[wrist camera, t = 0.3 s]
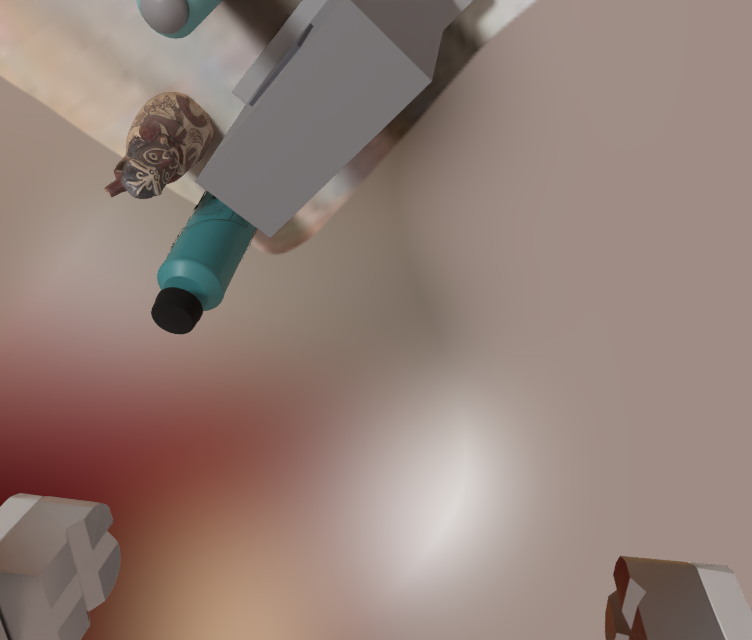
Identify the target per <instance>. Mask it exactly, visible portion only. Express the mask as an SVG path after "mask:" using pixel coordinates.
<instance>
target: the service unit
mask: <svg viewBox="0 0 752 640" xmlns="http://www.w3.org/2000/svg"><path fill="white" fill-rule="evenodd" d="M472 1H473V0H302V1H301V3H300V4H299V5H298V7H297V8H296V9H295V10H294V12H293V13H292V14H291V16H290V17H289V18H288V20H287V21H286V22H285V23H284V25H283V26H282V27H281V29H280V30H279V31H278V33H277V34H276V35H275V36H274V38H273V39H272V40H271V42H270V43H269V44H268V46H267V47H266V48H265V49H264V51H263V52H262V53H261V55H260V56H259V57H258V59H257V60H256V61H255V62H254V64H253V65H252V66H251V68H250V69H249V70H248V72H247V73H246V74H245V75H244V77H243V78H242V79H241V81H240V82H239V83H238V85H237V86H236V87H235V89H234V90H233V91H232V93H233V94H235V95H236V96H237V97H238V98H239V99H241V100H242V101H243V102H244V103H245V104H246V105H245V107H244V108H243V110H242V111H241V113H240V115H239V116H238V118H237V119H236V121H235V122H234V124H233V125H232V127H231V128H230V130H229V131H228V133H227V134H226V136H225V137H224V139H223V140H222V142H221V143H220V145H219V146H218V148H217V149H216V151H215V152H214V154H213V155H212V157H211V158H210V160H209V161H208V163H207V164H206V166H205V167H204V169H203V170H202V172H201V173H200V175H199V176H198V178H197V179H196V181H195V182H196V183H198V184H199V185H200V186H202V187H203V188H204V189H206V190H207V191H208V192H210V193H211V194H212V195H214V196H215V197H216V198H217V199H219V200H220V201H221V202H223V203H224V204H225V205H227V206H228V207H229V208H231V209H232V210H233V211H235V212H236V213H237V214H239V215H240V216H241V217H243V218H244V219H245V220H247V221H248V222H249V223H251V224H252V225H253V226H255V227H256V228H257V229H259V230H260V231H261V232H263V233H264V234H265V235H266V236H268V237H269V238H271V237H272V236H273V235H274V234H275V233H276V232H277V231H278V230H279V229H280V228H281V227H282V226H283V225H284V224H285V223H286V222H287V221H289V220H290V219H291V218H292V217H293V216H294V215H295V214H296V213H297V212H298V211H299V210H300V209H301V208H302V207H303V206H304V205H305V204H306V203H307V202H308V201H309V200H310V199H311V198H312V197H313V196H314V195H315V194H316V193H317V192H318V191H319V190H320V189H321V188H323V187H324V186H325V185H326V184H327V183H328V182H329V181H330V180H331V179H332V178H333V177H334V176H335V175H336V174H337V173H338V172H339V171H340V170H341V169H342V168H343V167H344V166H345V165H346V164H347V163H348V162H349V161H350V160H351V159H352V158H353V157H354V156H355V155H357V154H358V153H359V152H360V151H361V150H362V149H363V148H364V147H365V146H366V145H367V144H368V143H369V142H370V141H371V140H372V139H373V138H374V137H375V136H376V135H377V134H378V133H379V132H380V131H381V130H382V129H383V128H384V127H385V126H386V125H387V124H388V123H389V122H391V121H392V120H393V119H394V118H395V117H396V116H397V115H398V114H399V113H400V112H401V111H402V110H403V109H404V108H405V107H406V106H407V105H408V104H409V103H410V102H411V101H412V100H413V99H414V98H415V97H416V96H417V95H418V94H419V93H420V92H421V91H422V90H423V89H425V88H426V87H427V86H428V85H429V84H430V83H431V82H432V79H433V75H434V70H435V66H436V61H437V57H438V52H439V47H440V43H441V38H442V34H443V31H444V30H445V29H446V28H447V27H448V26H449V25H450V23H451V22H452V21H453V20H454V19H455V18H456V17H457V16H458V15H459V14H460V13H461V12H462V11H463V10H464V9H465V8H466V7H467V6H468V5H469V4H470V3H471V2H472Z"/></svg>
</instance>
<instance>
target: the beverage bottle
mask: <svg viewBox="0 0 752 640" xmlns="http://www.w3.org/2000/svg"><path fill="white" fill-rule="evenodd" d="M205 193H206V194H205ZM204 194H205V196H204ZM204 194H203V196H204V197H203V196H202V198H201V200H200V202H199V204H198V205H197V206H196V207H195V209H196V210H195V209H194V210H195V212H194V213H193V215H192V217H191V218H190V219H189V222H188V223H187V225H186V227H185V228H184V230H183V231H182V233H181V234H180V236H179V235H178V236H179V238H178V239H177V241H176V243H175V244H174V246H172V249H171V252H170V253H169V255H168V256H167V258H166V260H165V262H164V263H163V264H162V265H161V267H160V268H159V270H158V274H157V279H158V284H159V286H160V288H161V291H160V292H159V294H158V296H157V298H156V301H155V303H154V305H153V307H152V311H151V314H152V318H153V320H154V321H155V323H156V324H157V325H158V326H159V327H161V328H162V329H164V330H166V331H168V332H170V333H174V334H185V333H188V332H190V331H191V330H192V329H193V328H194V326H195V325H196V323H197V322H198V321H199V320H200V318H201V316H202V313H203V311H207V310H211V309H213V308H215V307H217V306H218V305H219V304H220V303H221V301H222V299H223V297H224V294H225V292H226V289H227V287H228V285H229V283H230V281H231V279H232V277H233V275H234V273H235V271H236V269H237V267H238V264H239V262H240V261H241V259H242V257H243V255H244V253H245V251H246V249H247V247H248V245H249V243H251V242H250V241H252V240H251V239H253V238H252V237H254V235H255V234H254V232H255V230H256V227H255V226H253V225H252V224H251V223H249V222H248V221H247V220H245V219H244V218H243V217H241V216H240V215H239V214H237V213H236V212H235V211H233V210H232V209H231V208H229V207H228V206H227V205H225V204H224V203H223V202H221V201H220V200H219V199H217V198H216V197H215V196H214V195H212V194H211V193H210V192H208V191H205V192H204ZM255 233H256V232H255ZM253 234H254V235H253Z"/></svg>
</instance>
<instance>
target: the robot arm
mask: <svg viewBox="0 0 752 640" xmlns="http://www.w3.org/2000/svg"><path fill="white" fill-rule="evenodd" d="M112 522H113V519H112V516H111V513H110V509H109V506H107V505H104V504H102V503H96V502H88V501H80V500H72V499H64V498H56V497H50V496H49V497H48V496H47V497H44V496H36V495H29V494H22V493H20V494H17V495H15V496H12V497H10V498H9V499H8V500H7V501H6V502H5V503H4V504H3V505H2V506H1V507H0V640H81V638H82V636H83V635H84V634H85V632H86V631H87V629H88V627H89V626H90V619H89V611H90V610H92V609H93V608H95V607H96V606H98V605H99V604H101V603H103V602H104V601H105V600H106V599H107V597H108V595H109V594H110V592H111V590H112V589H113V587H114V585H115V582H116V578H117V575H118V572H119V569H120V549H119V545H118V542H117V541H116V540H115V539H114V538H113V537H112V536H111V535H110V533H109V532H107V530H108V528H109V527H110V525H111V524H112ZM613 576H614V580H615V584H616V588H617V590H616V591H615V592H613V593H612V594H611V595H609V596H608V601H607V607H606V612H605V637H606V640H752V610H751V608H750V606H749V604H748V602H747V600H746V597H745V595H744V593H743V591H742V589H741V587H740V585H739V583H738V581H737V578H736V576H735V574H734V572H733V571H732V570H731V569H730V568H729V567H728V566H725V565H715V564H704V563H693V562H691V563H688V562H680V561H670V560H659V559H648V558H638V557H627V556H620V557H619V558H618V560H617V562H616V565H615V569H614V573H613Z"/></svg>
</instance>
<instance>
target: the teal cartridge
mask: <svg viewBox="0 0 752 640" xmlns="http://www.w3.org/2000/svg"><path fill="white" fill-rule="evenodd" d="M222 1H223V0H137V4H138V8H139V10H140V13H141V15H142V16H143V18H144V20H145V21H146V22H147V23H148V25H149V26H150V27H151V28H153V29H154V30H155V31H156V32H158V33H159V34H161V35H163V36H166V37H169V38H182V37H185V36H187V35H189V34H190V33H191V32H192V31H193V30H194V29H195V28H196V27H197V26H198V25H199V24H200V23H201V22H202V21H203V20H204V19H205V18H206V17H207V16H208V15H209V14H210V13H211V12H212V11H213V10H214V9H215V8H216V7H217V6H218V5H219V4H220V3H221V2H222Z"/></svg>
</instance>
